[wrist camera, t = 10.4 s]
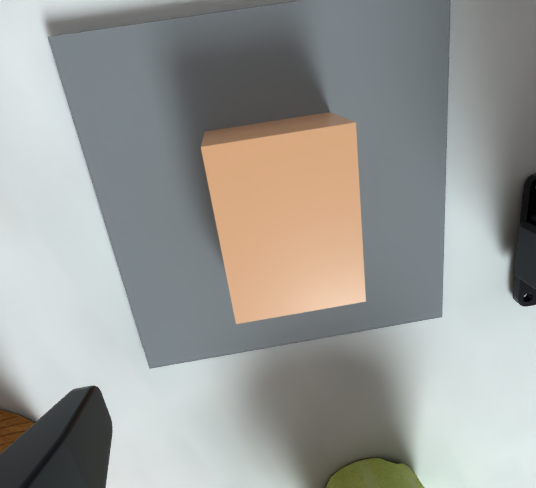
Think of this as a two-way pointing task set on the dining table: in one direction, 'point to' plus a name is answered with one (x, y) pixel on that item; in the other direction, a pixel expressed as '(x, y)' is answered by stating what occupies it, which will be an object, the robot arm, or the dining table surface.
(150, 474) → the dining table surface
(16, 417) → the disposable coffee cup
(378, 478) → the plant pot
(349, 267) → the clay brick
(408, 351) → the dining table surface
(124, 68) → the slate mat
